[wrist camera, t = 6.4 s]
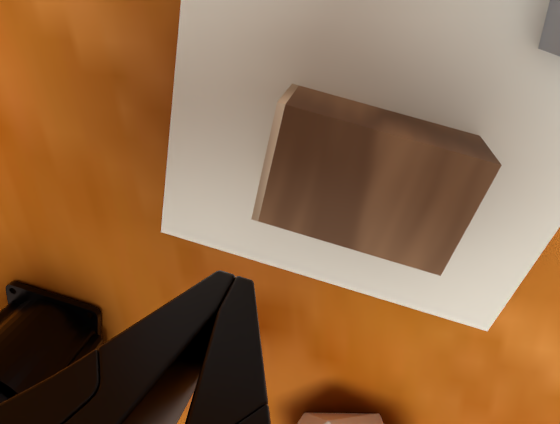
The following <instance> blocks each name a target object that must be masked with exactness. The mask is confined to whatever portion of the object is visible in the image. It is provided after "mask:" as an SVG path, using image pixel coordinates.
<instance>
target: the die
mask: <svg viewBox="0 0 560 424" xmlns="http://www.w3.org/2000/svg"><path fill="white" fill-rule="evenodd" d="M297 424H384V423H383V421H382V418H381V416H380V414H379V413H304V414H303V415H302V417H301V418H300V420H299V421H298V423H297Z"/></svg>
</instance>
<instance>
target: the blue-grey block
mask: <svg viewBox="0 0 560 424" xmlns="http://www.w3.org/2000/svg"><path fill="white" fill-rule="evenodd" d="M538 49H541V50H543V51H546V52H549V53H551V54H554V55H557V56H560V0H550V2H549V6H548V10H547V14H546V18H545V22H544V27H543V31H542V35H541V39H540V43H539V47H538Z"/></svg>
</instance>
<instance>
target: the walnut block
mask: <svg viewBox="0 0 560 424" xmlns="http://www.w3.org/2000/svg"><path fill="white" fill-rule="evenodd" d="M501 166H502V165H501V163H500V162H499V161H498V159H497V158H496V157H495V155H494V154H493V153H492V151H491V150H490V148H489V147H488V146H487V144H486V143H485V142H484V140H483V139H482V138H481V136H479V135H476V134H472V133H468V132H465V131H461V130H458V129H454V128H450V127H447V126H443V125H440V124H436V123H432V122H429V121H425V120H422V119H418V118H414V117H411V116H407V115H404V114H400V113H396V112H393V111H389V110H386V109H382V108H378V107H375V106H371V105H368V104H364V103H360V102H357V101H353V100H350V99H346V98H342V97H339V96H335V95H332V94H328V93H324V92H321V91H317V90H314V89H310V88H306V87H303V86H299V85H296V84H291V86H290V87H289V88H288V89H287V90H286V92H285V93H284V94H283V95H282V97H281V98H280V99H279V100H278V102H277V105H276V110H275V114H274V119H273V123H272V128H271V132H270V137H269V141H268V146H267V150H266V155H265V159H264V164H263V168H262V173H261V177H260V182H259V186H258V191H257V196H256V200H255V205H254V209H253V214H252V218H251V219H252V220H255V221H258V222H262V223H265V224H268V225H272V226H275V227H278V228H282V229H285V230H288V231H292V232H295V233H298V234H302V235H305V236H308V237H312V238H315V239H319V240H322V241H325V242H329V243H332V244H335V245H339V246H342V247H345V248H349V249H352V250H355V251H359V252H362V253H365V254H369V255H372V256H375V257H379V258H382V259H386V260H389V261H392V262H396V263H399V264H402V265H406V266H409V267H412V268H416V269H419V270H422V271H426V272H429V273H432V274H436V275H439V276H441V274H442V273H443V271H444V269H445V267H446V265H447V264H448V262H449V260H450V258H451V256H452V254H453V253H454V251H455V249H456V247H457V245H458V244H459V242H460V240H461V238H462V236H463V235H464V233H465V231H466V229H467V227H468V226H469V224H470V222H471V220H472V218H473V216H474V215H475V213H476V211H477V209H478V207H479V206H480V204H481V202H482V200H483V198H484V197H485V195H486V193H487V191H488V189H489V188H490V186H491V184H492V182H493V180H494V178H495V177H496V175H497V173H498V171H499V169H500V168H501Z"/></svg>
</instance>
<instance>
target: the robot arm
mask: <svg viewBox="0 0 560 424" xmlns="http://www.w3.org/2000/svg"><path fill="white" fill-rule="evenodd" d="M6 294H7V300H8V305H7V306H6V307H5V308H3V309H2V310H1V311H0V424H177V422H178V420H179V418H180V417H181V415H182V413H183V411H184V409H185V407H186V405H187V403H188V401H189V399H190V398H191V396H192V394H193V392H194V394H193V398H192V401H191V405H190V408H189V412H188V415H187V419H186V422H185V424H271V421H270V413H269V406H268V398H267V390H266V381H265V373H264V364H263V356H262V348H261V339H260V331H259V323H258V314H257V306H256V297H255V289H254V283H253V281H252V280H250V279H247V278H243V277H240V276H237V277H236V278H235V276H234V275H233V274H230V273H227V272H224V271H220V270H219V271H216V272H215V273H213V274H212V275H210V276H209V277H207V278H205V279H204V280H202V281H201V282H199V283H198V284H196V285H195V286H193V287H191V288H190V289H188V290H187V291H185V292H184V293H182V294H181V295H179V296H177V297H176V298H174V299H173V300H171V301H170V302H168V303H167V304H165V305H163V306H162V307H160V308H159V309H157V310H156V311H154V312H153V313H151V314H149V315H148V316H146V317H145V318H143V319H142V320H140V321H139V322H137V323H135V324H134V325H132V326H131V327H129V328H128V329H126V330H125V331H123V332H121V333H120V334H118V335H117V336H115V337H114V338H112V339H111V340H109V341H107V342H106V343H104V344H103V339H102V336H101V312H100V310H99V309H98V308H97V307H95V306H92V305H89V304H85V303H82V302H79V301H76V300H73V299H70V298H67V297H63V296H60V295H57V294H54V293H51V292H48V291H45V290H41V289H38V288H35V287H32V286H29V285H26V284H23V283H19V282H16V281H12V282H11V283H9V284H8V285H7V286H6ZM194 390H195V391H194Z"/></svg>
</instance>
